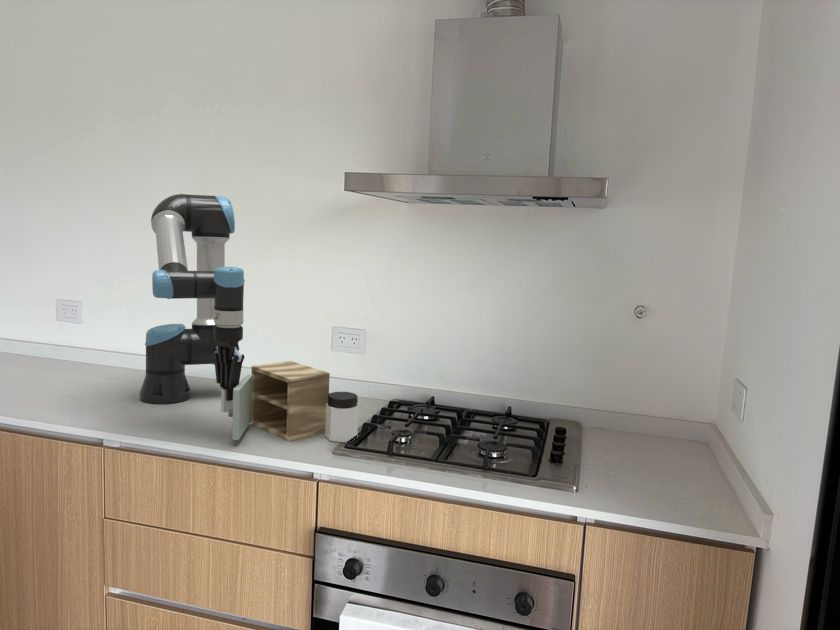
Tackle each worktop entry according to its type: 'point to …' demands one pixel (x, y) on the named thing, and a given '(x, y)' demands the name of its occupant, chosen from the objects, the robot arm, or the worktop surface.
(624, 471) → the worktop surface
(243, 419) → the door
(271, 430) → the cabinet
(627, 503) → the worktop surface
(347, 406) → the jar
